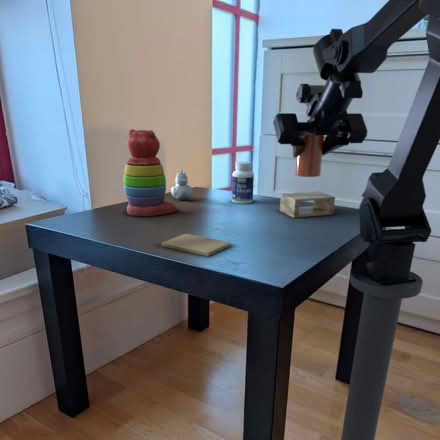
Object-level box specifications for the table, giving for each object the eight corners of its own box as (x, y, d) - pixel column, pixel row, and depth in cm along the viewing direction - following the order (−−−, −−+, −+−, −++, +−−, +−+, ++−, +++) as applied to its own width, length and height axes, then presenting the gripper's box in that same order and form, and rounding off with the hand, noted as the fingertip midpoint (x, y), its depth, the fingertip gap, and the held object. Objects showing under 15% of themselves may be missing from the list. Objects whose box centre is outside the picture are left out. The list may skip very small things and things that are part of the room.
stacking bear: (180, 210, 98) (177, 129, 91) (151, 219, 90) (145, 131, 83) (145, 205, 103) (139, 127, 96) (115, 213, 95) (106, 129, 88)
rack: (333, 214, 95) (335, 196, 93) (293, 217, 92) (295, 199, 90) (317, 208, 101) (318, 191, 99) (279, 211, 98) (280, 193, 96)
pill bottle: (235, 204, 104) (236, 163, 100) (229, 200, 109) (229, 161, 105) (255, 203, 106) (257, 163, 102) (248, 199, 110) (250, 160, 106)
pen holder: (325, 176, 91) (329, 131, 88) (302, 177, 89) (306, 132, 86) (311, 172, 96) (315, 130, 92) (290, 173, 94) (293, 131, 91)
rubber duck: (175, 202, 106) (173, 169, 103) (168, 197, 112) (167, 166, 109) (195, 200, 108) (194, 168, 105) (188, 196, 114) (187, 165, 111)
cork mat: (230, 245, 73) (230, 242, 73) (207, 256, 68) (207, 252, 67) (185, 236, 78) (185, 233, 78) (160, 245, 73) (160, 242, 72)
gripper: (368, 69, 83) (336, 127, 97) (279, 67, 79) (259, 127, 93) (384, 112, 79) (348, 166, 93) (291, 112, 75) (268, 168, 89)
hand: (306, 155), depth 92 cm, fingers closed on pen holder, 5 cm apart
